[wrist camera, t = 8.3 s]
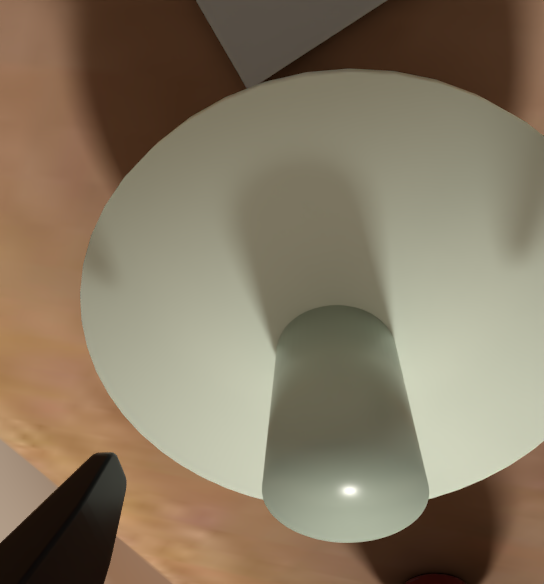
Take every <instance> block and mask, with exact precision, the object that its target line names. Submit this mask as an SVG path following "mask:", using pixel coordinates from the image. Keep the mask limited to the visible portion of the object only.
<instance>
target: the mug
mask: <svg viewBox="0 0 544 584" xmlns="http://www.w3.org/2000/svg"><path fill="white" fill-rule="evenodd" d="M405 584H466V583H465V582H464V581H462V580H461V579H459V578H456V577H454V576H450V575H445V574H426V575H421V576H417V577H414V578H412V579H410V580H409V581H407V582H406V583H405Z"/></svg>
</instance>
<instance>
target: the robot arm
mask: <svg viewBox="0 0 544 584" xmlns="http://www.w3.org/2000/svg"><path fill="white" fill-rule="evenodd" d="M125 492H126V477H125V474H124V472H123V469H122V467H121V464H120V462H119V460H118V457H117V455H116V454H114V453H112V452H107V453H95V454H94V455H92V456H91V457H90V458H89V459H88V460H87V461H86V462H85V463H84V464H82V465H81V466H80V467H79V468H78V469H77V470H76V471H75V472H74V473H73V474H72V475H71V476H70V477H69V478H68V479H67V480H66V481H65V482H64V483H63V484H62V485H61V486H59V487H58V488H57V489H56V490H55V491H54V493H52V494H51V495H50V496H49V497H48V498H47V499H46V500H45V501H44V502H43V503H42V504H41V505H40V506H39V507H38V508H37V509H35V510H34V511H33V512H32V513H31V514H30V515H29V516H28V517H27V518H26V519H25V520H24V521H23V522H22V523H21V524H20V525H19V526H18V527H17V528H16V529H15V530H14V531H12V532H11V533H10V534H9V535H8V536H7V537H6V538H5V539H4V540H3V541H2V542H1V543H0V584H104V581H105V578H106V575H107V571H108V568H109V565H110V561H111V556H112V552H113V548H114V543H115V538H116V534H117V529H118V524H119V520H120V515H121V510H122V506H123V501H124V496H125Z"/></svg>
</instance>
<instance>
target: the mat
mask: <svg viewBox="0 0 544 584" xmlns="http://www.w3.org/2000/svg"><path fill="white" fill-rule="evenodd" d="M385 1H387V0H196V2H197V3H198V5H199V7H200V9H201V10H202V12H203V14H204V15H205V17H206V19H207V21H208V22H209V24H210V26H211V28H212V29H213V31H214V33H215V34H216V36H217V38H218V40H219V41H220V43H221V45H222V46H223V48H224V50H225V52H226V53H227V55H228V57H229V59H230V60H231V62H232V64H233V65H234V67H235V69H236V71H237V72H238V74H239V76H240V77H241V79H242V81H243V83H244V84H245V86H246V88H250V87H252V86H255V85H258V84H259V83H261V82H262V81H264V80H265V79H267V78H269V77H270V76H272V75H273V74H275V73H276V72H278V71H279V70H281V69H282V68H284V67H285V66H287V65H289V64H290V63H292V62H293V61H295V60H296V59H298V58H299V57H301V56H302V55H304V54H305V53H307V52H308V51H310V50H312V49H313V48H315V47H316V46H318V45H319V44H321V43H322V42H324V41H325V40H327V39H328V38H330V37H332V36H333V35H335V34H336V33H338V32H339V31H341V30H342V29H344V28H345V27H347V26H348V25H350V24H352V23H353V22H355V21H356V20H358V19H359V18H361V17H362V16H364V15H365V14H367V13H368V12H370V11H372V10H373V9H375V8H376V7H378V6H379V5H381V4H382V3H384V2H385Z"/></svg>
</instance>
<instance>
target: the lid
mask: <svg viewBox="0 0 544 584" xmlns="http://www.w3.org/2000/svg"><path fill="white" fill-rule="evenodd" d="M80 299H81V317H82V325H83V329H84V334H85V339H86V343H87V348H88V350H89V353H90V356H91V358H92V361H93V364H94V366H95V369H96V372H97V374H98V375H99V377H100V379H101V381H102V383H103V385H104V387H105V388H106V390H107V392H108V394H109V395H110V397H111V398H112V400H113V401H114V402H115V404H116V405H117V407H118V408H119V409H120V411H121V412H122V413H123V415H124V416H125V417H126V418H127V419H128V420H129V421H130V423H131V424H132V425H133V426H134V427H135V428H136V429H137V430H138V431H139V432H140V433H141V434H142V435H143V436H144V437H145V438H146V439H147V440H149V441H150V442H151V443H152V444H153V445H154V446H156V447H157V448H158V449H159V450H160V451H162V452H163V453H164V454H166V455H167V456H169V457H170V458H172V459H173V460H174V461H176V462H177V463H179V464H180V465H182V466H184V467H185V468H187V469H189V470H191V471H192V472H194V473H196V474H198V475H199V476H201V477H203V478H205V479H207V480H210V481H212V482H214V483H216V484H219V485H221V486H223V487H225V488H228V489H231V490H234V491H236V492H239V493H242V494H245V495H248V496H251V497H255V498H259V499H263V500H264V502H265V505H266V506H267V508H268V510H269V511H270V512H271V514H272V515H273V516H274V517H275V518H276V519H277V520H278V521H279V522H281V523H282V524H283V525H285V526H286V527H288V528H290V529H292V530H293V531H295V532H298V533H300V534H302V535H305V536H308V537H311V538H315V539H319V540H324V541H330V542H342V543H353V542H365V541H371V540H376V539H380V538H384V537H387V536H390V535H392V534H395V533H397V532H399V531H401V530H403V529H405V528H406V527H408V526H409V525H411V524H412V523H413V522H414V521H415V520H416V519H418V517H419V516H420V515H421V514H422V513H423V511H424V509H425V508H426V505H427V503H428V499H431V498H435V497H438V496H441V495H444V494H447V493H450V492H453V491H457V490H459V489H462V488H464V487H467V486H469V485H471V484H474V483H476V482H478V481H481V480H483V479H485V478H487V477H489V476H491V475H493V474H495V473H497V472H498V471H500V470H502V469H504V468H506V467H508V466H510V465H511V464H513V463H514V462H516V461H517V460H519V459H520V458H522V457H523V456H524V455H526V454H527V453H529V452H530V451H532V450H533V449H534V448H536V447H537V446H538V445H539V444H540V443H542V442H543V441H544V136H543V135H542V134H540V133H539V132H538V131H537V130H535V129H534V128H533V127H531V126H530V125H529V124H528V123H526V122H525V121H523V120H521V119H520V118H518V117H516V116H515V115H513V114H511V113H509V112H508V111H506V110H504V109H502V108H500V107H499V106H497V105H495V104H493V103H491V102H490V101H488V100H486V99H484V98H482V97H481V96H479V95H477V94H475V93H472V92H469V91H466V90H464V89H461V88H458V87H456V86H453V85H450V84H447V83H445V82H442V81H439V80H436V79H432V78H427V77H422V76H417V75H412V74H407V73H402V72H397V71H388V70H370V69H351V68H348V69H337V70H326V71H314V72H305V73H300V74H296V75H292V76H288V77H283V78H279V79H275V80H270V81H266V82H263V83H260V84H258V85H255V86H252V87H250V88H247V89H245V90H242V91H240V92H237V93H234V94H232V95H229V96H227V97H224V98H223V99H221V100H219V101H217V102H216V103H214V104H212V105H210V106H209V107H207V108H205V109H203V110H201V111H200V112H198V113H196V114H194V115H193V116H191V117H189V118H188V119H187V120H186V121H184V122H183V123H182V124H181V125H179V126H178V127H177V128H175V129H174V130H173V131H172V132H170V133H169V134H168V135H166V136H165V137H164V138H163V139H161V140H160V141H159V142H158V143H157V144H156V145H155V146H154V147H153V148H152V149H151V150H150V151H149V152H148V153H147V154H146V155H145V156H144V157H143V158H142V159H141V160H140V161H139V162H138V163H137V164H136V165H135V167H134V168H133V169H132V170H131V171H130V172H129V173H128V174H127V175H126V176H125V177H124V179H123V180H122V182H121V183H120V184H119V186H118V187H117V189H116V190H115V192H114V193H113V195H112V196H111V198H110V199H109V201H108V202H107V204H106V205H105V207H104V209H103V211H102V213H101V216H100V218H99V220H98V222H97V224H96V226H95V228H94V231H93V233H92V235H91V238H90V242H89V246H88V249H87V253H86V256H85V260H84V264H83V271H82V281H81V291H80Z"/></svg>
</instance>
